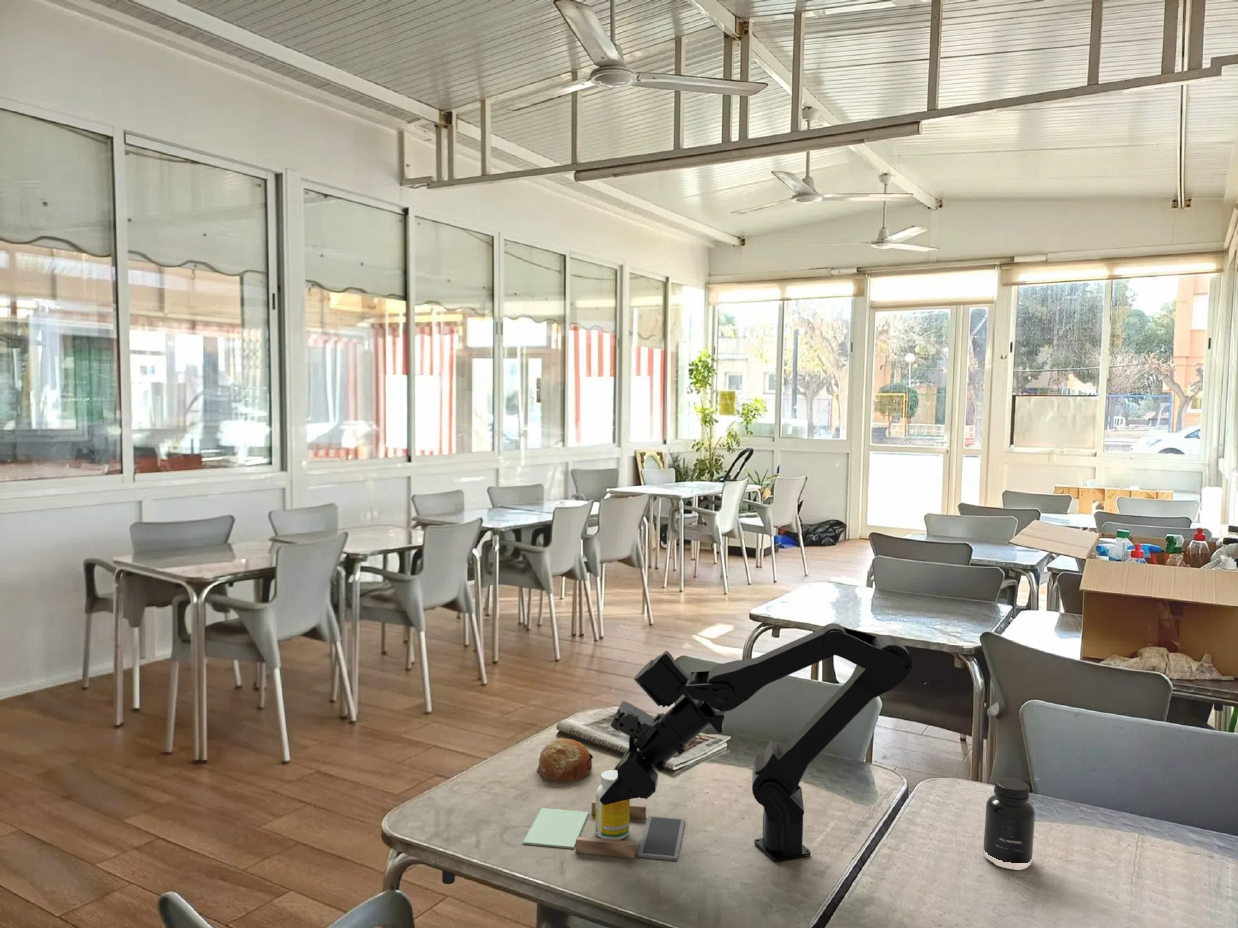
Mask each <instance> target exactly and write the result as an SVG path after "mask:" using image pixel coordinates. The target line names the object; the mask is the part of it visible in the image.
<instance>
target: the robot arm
mask: <svg viewBox="0 0 1238 928" xmlns="http://www.w3.org/2000/svg"><path fill="white" fill-rule="evenodd" d="M833 656H837V657H839V658H842V659H844V660H846V661H848V662H850V663H852V664H854V665H856V666H855V667H854V670H853V671H852V673H851V675H850V677H849V678H848V679H847V680H846V682H844V684H842V686H841V687H840V688H839V689H838V690H837V691H836V692H835V693H834V694H833V695H832V696H831V697H830V698H829V699H828V700H827V701H826V703H824V704H823V705H822V706H821V707H820V709H819V710H818V711H817V712H816V713H815V714H814V715H813V716H812V717H811V718H810V719H809V720H808V721H807V722H806V723H805V724H804V725H803V726H802V727H801V729H800V730H799V731H798V732H797V733H795V735H794V736H792V738H791V739H790V740H789V741H787V742H785V743H783V744H781V745H778V744H776V743H775V741H774V740H770V742H769V743H768V744H767V746H766V747H765V748H764V750H763V751H762V752H761V753H760V754H757V755H755V757H754V758H755V759H754V764H753V768H752V773H751V775H752V776H751V777H752V781H751V782H752V783H751V785H752V786H751V787H752V788H751V789H752V791H751V792H752V795H753V798H754V799H755V800H756V802H757V803H758V804H760V805H761V806H762V807H763V814H762V816H763V817H762V818H763V819H762V837H760V838H755V839H754V840H753V841H754V843H753V844H755V845H756V846H757V847H758V848H759V849H760V850H761V851H762V852H763V853H764V854H766V856H767V857H769V858H770V859H771V861H773V862H782V861H783V862H784V861H787V860H792V859H799V858H803V857H807V856H806V855H809V856H811V855H810V854H812V852H811V850H810V849H809V848H807V846H805V845H804V844H803V838H804V837H803V835H804V834H803V832H804V814H805V806H804V799H803V798H804V797H803V790H802V789H803V788H802V787H801V786H800V785H799V784H800V782H801V780H802V778H803V776H804V774H805V772H806V770H807V769H808V766H809V765H810V764H811V763H812V762H813V761H814V760H815V759H816V758H817V757H818V756H819V755H820V753H822V751H824V750H825V749H826V747H827V746H828V745H829V744H830V743H831V742H832V741H833V740H834V739H836V737H837V736H838V735H839V734H840V733H841V732H842V731H843V730H844V729H845V728H846V726H848V725H849V723H851V722H852V720H853V719H854V718H855V717H856V716H857V715H858V714H859V713H860V712H861V711H862V710H863V709H864V708H865V707H866V706H867V705H868V704H869V703H870V702H872V700H873V699H876V698H878V697H881V696H882V695H885V694H886V693H889V692H891V691H892V690H893V689H895V688H896V687H898V686H899V685H901V684H902V683H904V681H906V680H907V679H908V678H909V677H910V675H912V671H913V659H912V657H911V655H910V654H909V651H908V650H907V648H906V647H905V645H904V644H903V642H902V641H901V640H900V639H898V638H897V637H896V636H893V635H889V634H884V635H882V634H881V635H878V636H876V635H875V634H871V633H868V632H865V631H862V630H857V629H854V628H849V627H846V626H844V625H843V626H842V625H841V624H839V623H835V622H830V623H826V624H825V625H824V626H823V627H822V628H820V629H818V630H815V631H814V632H810V633H808V634H806V635H804V636H802V637H800V638H798V639H795V640H793V641H790V642H788V643H787V644H783V645H781V646H779V647H777V648H775V649H773V650H770V651H767V652H765V653H763V654H761V655H759V656H757V657H753V658H749V659H735V660H733V661H732V660H731V661H728V662H725V663H721V664H717V665H715V666H713V667H712V668H711V669H710V670H695V671H694V670H693V671H688V674H687V672H686V671H685V670H684V669H683V668H682V667H681V666H680V665H679V664H678V662H676V660H675V658H674V657H673V655H672V654H671V653H670V652H669V651H668V650H665V651H664V652H663V653H662V654H660V655H658V656H657V657H655V658H654V659H651V660H650V661H649V662H647V663H646V664H645V665H644V666H643V667H642V669H640V671H638V673H636V675H635V676H634V678H633V680H634V682H635V683H636V684H637V685H638V686H639V687H640V688H641V690H642V691H643V692H645V694H646V695H647V696H648V697H649V698H650V700H652V702H654V703H655V704H656V706H657V707H660V706H662V708H665V707H667V708H669V707H670V706H672V705H673V706H672V707H671V708H670V709H668V710H667V712H665V713H664V712H662V713H660V712H659V713H657V714H656V715H655V716H654V717H653V716H652V715H650V714H648V713H647V712H646V711H644V710H643V709H641V708H639V707H637V706H635V705H633V704H632V703H630V702H628V701H624V700H623V701H621V703H620V705H619V706H618V709H617V710H616V713H615V714H614V716H613V718H612V721H611V722H610V727H611V728H612V729H614V730H616V731H618V732H619V731H620V733H621V732H622V733H623V734H624V735H626V736H628V748H627V750H626V751H625V753H624V754H623V756H622V757H621V759H619V762H617V764H616V766H615V767H614V769H613V770H617V772H618V777H617V778H616V779H615V780H614V782H613V783H612V784H611V785H610V787H609V788H608V789H607V790H606V792H605V793H604V794H603V796H602V797H601V798H600V802H601V803H602V804H603V805H607V804H611V803H616V802H620V801H624V800H629V799H630V800H633V799H644V800H648V798H650V797H651V796H653V794H654V793H656V791H657V787H658V784H659V773H658V772H657V771H656V770H655V769H654V767H655V768H656V769H658V770H659V772H662V771H664V769H666V768H667V767H666V766H667V764H668V762H669V761H670V760H671V759H672V758H674V757H675V756H676V755H677V754H679V756H681V755H682V754H683V753H684V752H685V751H686V747H687V745H689V744H690V743H691V742H692V741H693V740H695V739H696V738H697V736H699V735H700V734H701V733H703V731H704V730H706V729H707V728H708V727H709V726H710V725H711V727H712V728H713V729H714V730H715V731H716V732H717V733H718V734H722V733H723V731H724V720H725V717H726V716H725V714H726V712H731V711H732V710H734V709H737V707H739V706H740V705H742V704H743V703H745V702H746V701H748V700H749V699H751V698H752V697H753V696H754V695H755V694H756V693H758V692H759V691H760V690H761V689H762V688H764V687H765V686H767V685H769V684H771V683H774V682H776V681H779V680H781V679H783V678H785V677H787V676H789V675H792V674H794V673H796V672H798V671H801V670H803V669H805V668H808V667H810V666H812V665H815V664H817V663H819V662H822V661H824V660H825V659H828V658H831V657H833ZM682 696H684V697H682ZM681 697H682V698H681ZM680 698H681V699H680ZM679 699H680V700H679ZM678 700H679V701H678ZM677 701H678V702H677ZM676 702H677V703H676Z"/></svg>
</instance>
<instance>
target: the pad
mask: <svg viewBox="0 0 1238 928" xmlns="http://www.w3.org/2000/svg"><path fill="white" fill-rule="evenodd" d="M589 815H590V813H589V811H580V810H567V809H557V808H548V807H547V808H546V807H541V808H540V811H539V812H538V814H537V816H536V818H535V820H534V822H533V823H532V825H531V827H530V829H529V830H528V832H527V834H526V835H525V837H524V839H523V841H522V844H523V845H529V846H530V845H532V846H540V847H541V846H542V847H543V846H544V847H552V848H562V849H569V850H570V849H571V850H572V849H573V850H574V849H575V848H576V838H577V836H578V837H580V835H581V833H582V830H583V828H584V826H585V824H586V821H587V819H588V817H589Z"/></svg>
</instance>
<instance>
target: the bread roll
mask: <svg viewBox="0 0 1238 928" xmlns="http://www.w3.org/2000/svg"><path fill="white" fill-rule="evenodd" d="M593 756H594V755H593V754H592V752H590V751H589V749H588V748H587V747H586V745H584V744H583V743H582V742H580V741H576V740H574V739H570V738H563V737H558V738H553V739H551V740H550V741H549V742H548V743H547V744H546V745H545V746H544V747H543V748H542V750H541V751H540V752H539V760H538V767H537V768H536V772H537V773H539V774H540V776H542V777H544V779H546V780H547V781H550V782H553V783H554V782H555V783H557V782H558V783H568V782H573V781H577V780H581V779H584V778H585V777H586V776H587V777H588V775H589V774H590V773H591V771H592V769H593V763H592V761H593V758H594V757H593Z"/></svg>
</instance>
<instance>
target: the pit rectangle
mask: <svg viewBox="0 0 1238 928" xmlns="http://www.w3.org/2000/svg"><path fill="white" fill-rule="evenodd" d="M647 817H648V818H647V821H646V823H645V828H644V831H643V835H642V839H641V841H640V844H639V845H640V846H639V849H638V853H637V857H638V858H647V859H658V860H667V861H677V862H678V860H679V857H680V856H679V854H680V849H681V844H682V839H683V834H684V828H685V822H686V818H679V817H678V818H676V817H668V816H666V817H665V816H656V815H648V816H647Z"/></svg>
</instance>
